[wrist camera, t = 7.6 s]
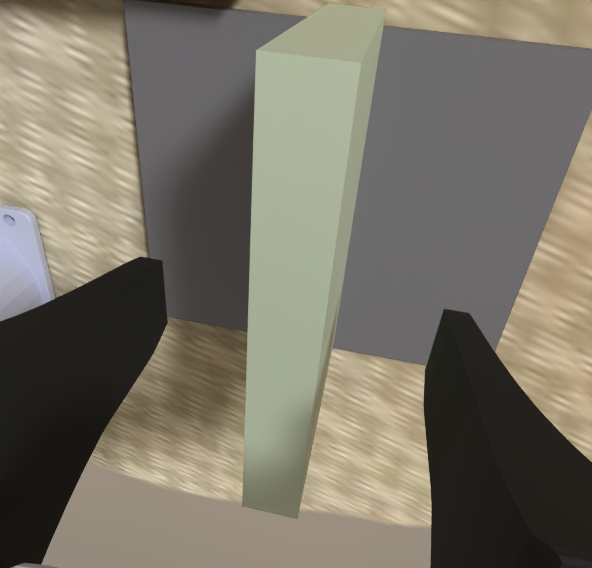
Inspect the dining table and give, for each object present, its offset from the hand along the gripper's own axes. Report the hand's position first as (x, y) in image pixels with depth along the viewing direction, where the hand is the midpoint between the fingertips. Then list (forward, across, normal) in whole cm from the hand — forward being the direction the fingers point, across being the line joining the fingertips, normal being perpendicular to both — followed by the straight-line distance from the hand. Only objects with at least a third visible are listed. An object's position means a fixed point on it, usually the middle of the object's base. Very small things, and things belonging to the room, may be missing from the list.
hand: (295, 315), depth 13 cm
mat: (+6, 0, 0) cm, 7 cm away
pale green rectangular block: (+6, 0, 0) cm, 6 cm away
